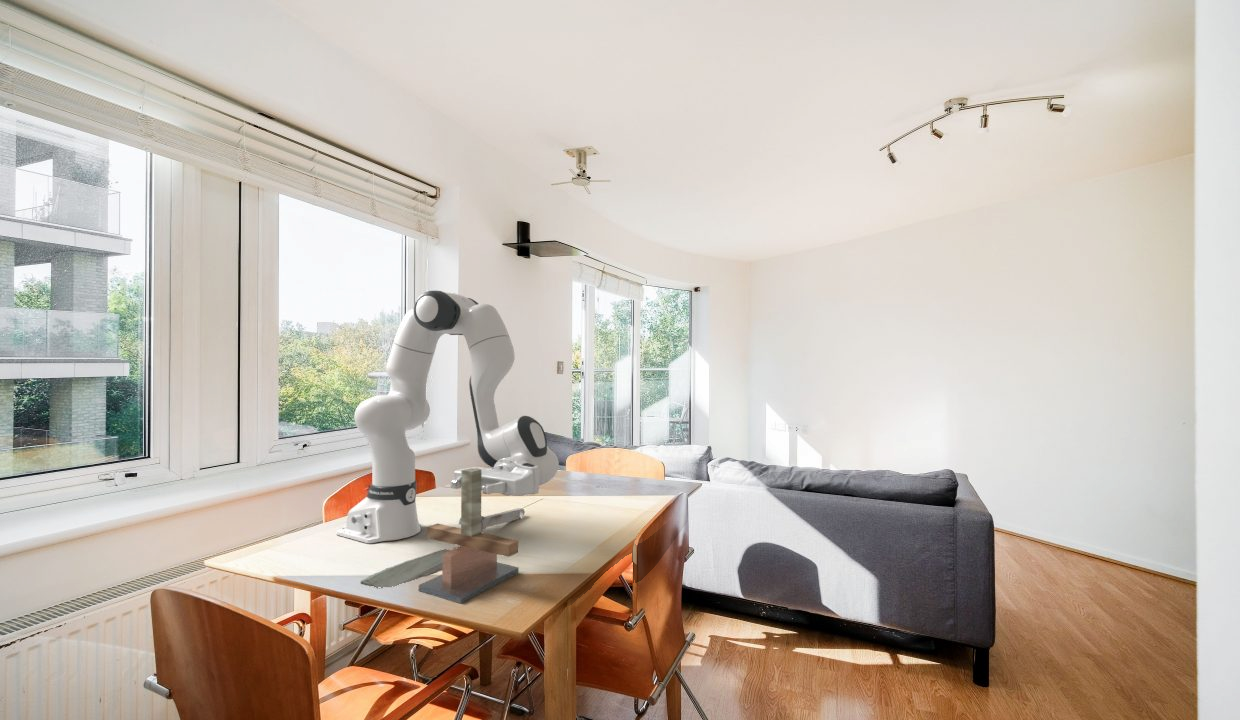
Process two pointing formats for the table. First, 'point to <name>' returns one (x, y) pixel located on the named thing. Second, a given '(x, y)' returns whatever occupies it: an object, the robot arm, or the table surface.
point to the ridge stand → (467, 574)
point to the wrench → (500, 518)
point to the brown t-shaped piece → (472, 522)
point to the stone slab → (407, 571)
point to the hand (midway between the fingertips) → (468, 487)
